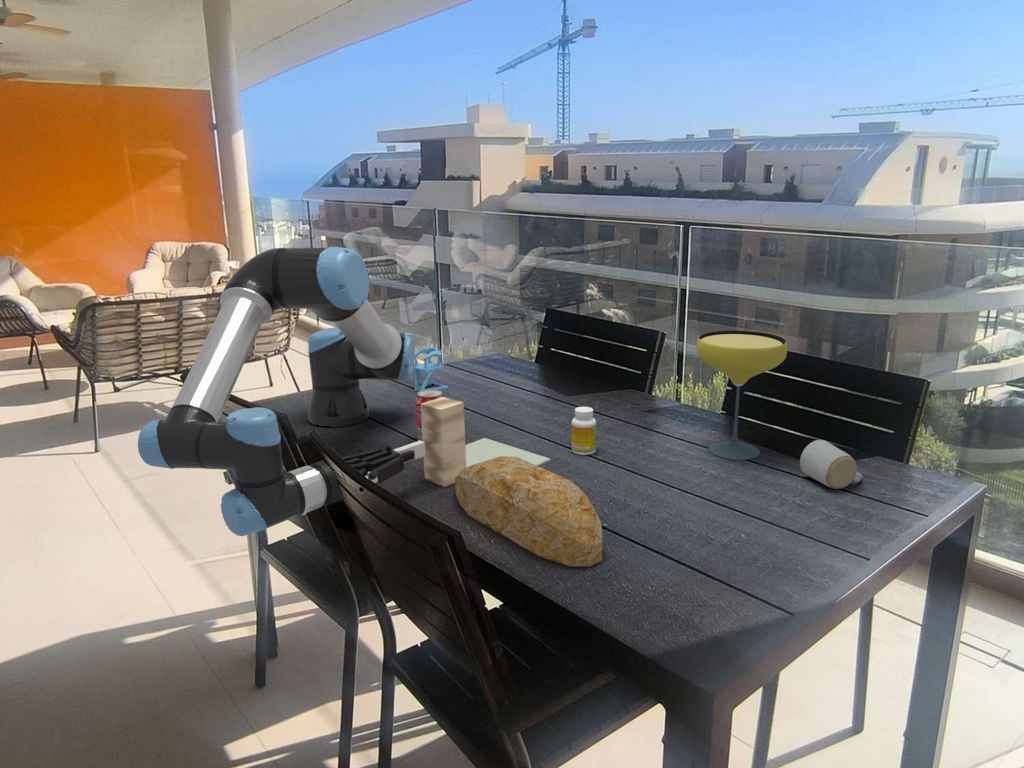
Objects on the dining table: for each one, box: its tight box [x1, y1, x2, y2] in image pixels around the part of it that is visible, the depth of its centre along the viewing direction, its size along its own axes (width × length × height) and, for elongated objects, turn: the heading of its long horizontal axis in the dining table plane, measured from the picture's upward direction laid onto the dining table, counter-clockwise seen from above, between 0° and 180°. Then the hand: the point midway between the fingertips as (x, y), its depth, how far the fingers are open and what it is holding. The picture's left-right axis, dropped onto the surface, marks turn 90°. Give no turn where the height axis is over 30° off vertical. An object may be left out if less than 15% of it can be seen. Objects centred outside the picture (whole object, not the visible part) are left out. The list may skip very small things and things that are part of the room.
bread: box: [454, 456, 603, 567], centre depth 124 cm, size 36×11×10 cm, turn 39°
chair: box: [413, 347, 449, 392], centre depth 206 cm, size 8×8×12 cm
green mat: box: [465, 437, 551, 467], centre depth 154 cm, size 20×16×1 cm
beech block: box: [421, 396, 466, 488], centre depth 143 cm, size 6×6×16 cm
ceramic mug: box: [799, 439, 863, 490], centre depth 139 cm, size 11×8×8 cm
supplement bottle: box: [571, 406, 597, 456], centre depth 157 cm, size 5×5×10 cm
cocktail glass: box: [696, 330, 788, 461], centre depth 153 cm, size 18×18×25 cm
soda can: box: [414, 388, 445, 441], centre depth 164 cm, size 7×7×12 cm
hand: (422, 447), depth 139 cm, fingers closed
